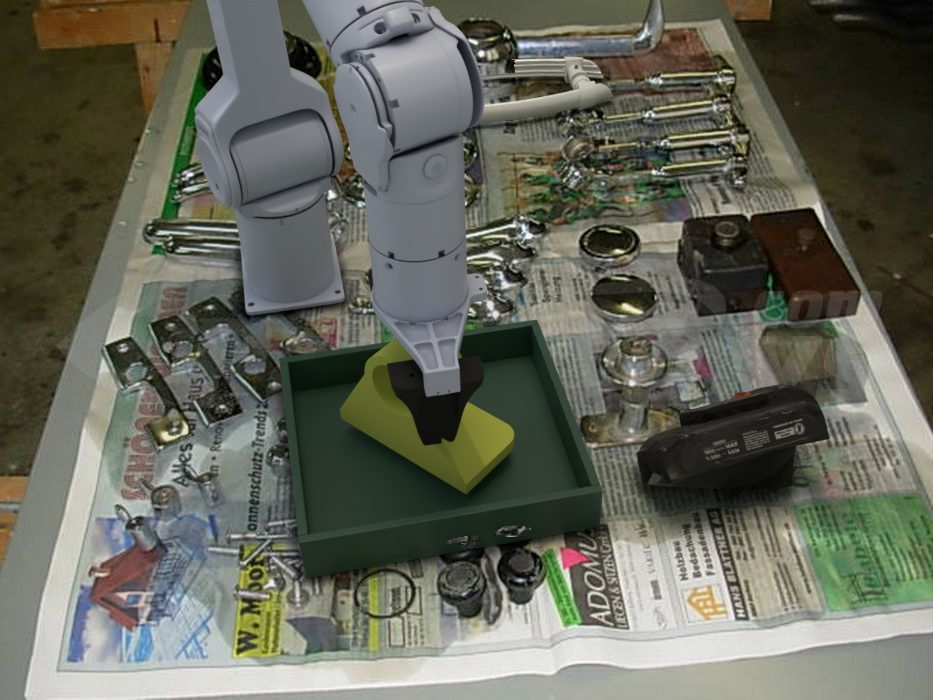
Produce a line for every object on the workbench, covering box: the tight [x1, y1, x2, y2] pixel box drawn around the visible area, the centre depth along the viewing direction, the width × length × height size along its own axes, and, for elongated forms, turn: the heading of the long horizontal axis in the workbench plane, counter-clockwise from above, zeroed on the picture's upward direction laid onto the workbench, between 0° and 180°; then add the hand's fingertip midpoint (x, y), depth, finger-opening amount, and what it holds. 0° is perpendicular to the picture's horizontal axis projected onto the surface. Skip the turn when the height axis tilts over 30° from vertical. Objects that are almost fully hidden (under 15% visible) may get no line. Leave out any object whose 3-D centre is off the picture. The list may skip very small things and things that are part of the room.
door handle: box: [477, 56, 614, 125], centre depth 113 cm, size 3×10×25 cm
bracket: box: [340, 337, 514, 494], centre depth 74 cm, size 11×6×10 cm, turn 51°
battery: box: [636, 383, 830, 501], centre depth 73 cm, size 12×8×7 cm
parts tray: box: [278, 319, 604, 579], centre depth 76 cm, size 17×19×4 cm
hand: (428, 398), depth 74 cm, fingers open, 7 cm apart
